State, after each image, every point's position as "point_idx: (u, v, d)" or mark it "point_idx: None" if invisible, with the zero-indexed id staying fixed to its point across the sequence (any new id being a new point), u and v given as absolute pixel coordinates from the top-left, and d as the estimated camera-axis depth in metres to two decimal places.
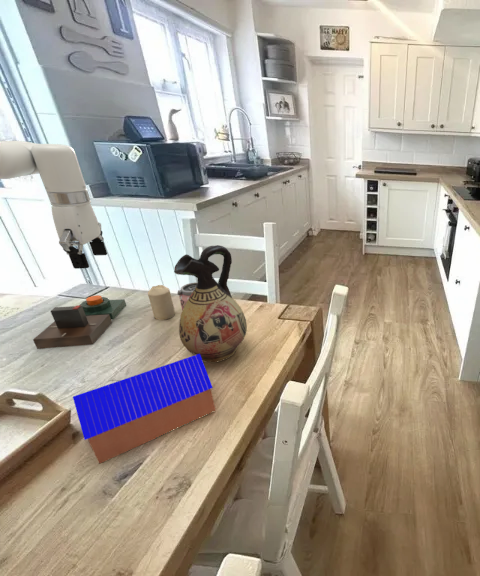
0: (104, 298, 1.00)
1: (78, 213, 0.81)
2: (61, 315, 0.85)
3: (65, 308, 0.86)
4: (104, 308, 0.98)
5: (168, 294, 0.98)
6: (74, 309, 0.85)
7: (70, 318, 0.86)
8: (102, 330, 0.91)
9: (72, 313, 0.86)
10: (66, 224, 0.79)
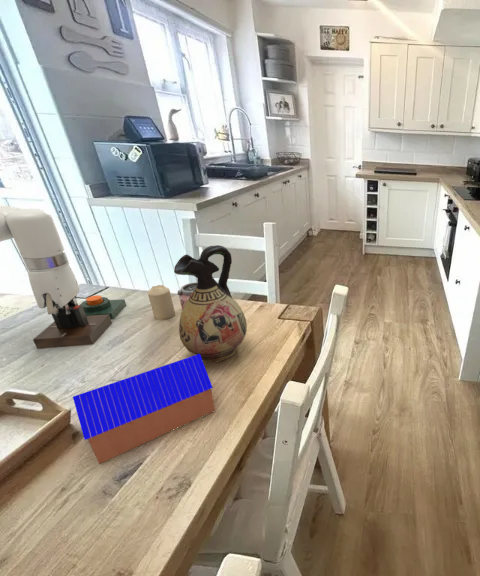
0: (104, 298, 1.00)
1: (56, 276, 0.79)
2: None
3: None
4: (104, 308, 0.98)
5: (168, 294, 0.98)
6: (75, 309, 0.86)
7: None
8: (102, 330, 0.91)
9: None
10: (44, 289, 0.78)
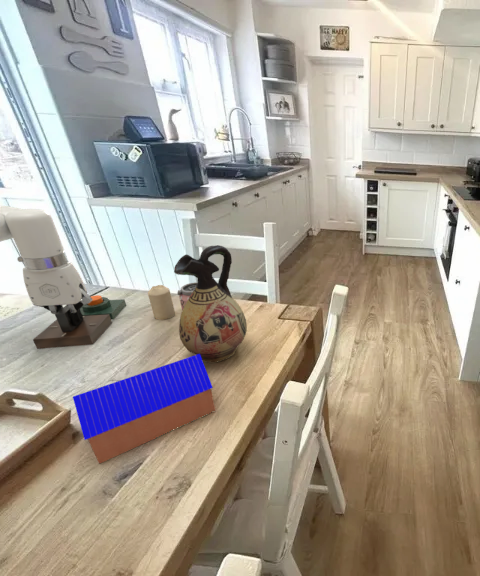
0: (104, 298, 1.00)
1: None
2: None
3: (65, 308, 0.85)
4: (104, 308, 0.98)
5: (168, 294, 0.98)
6: None
7: None
8: (102, 330, 0.91)
9: None
10: (78, 279, 0.83)
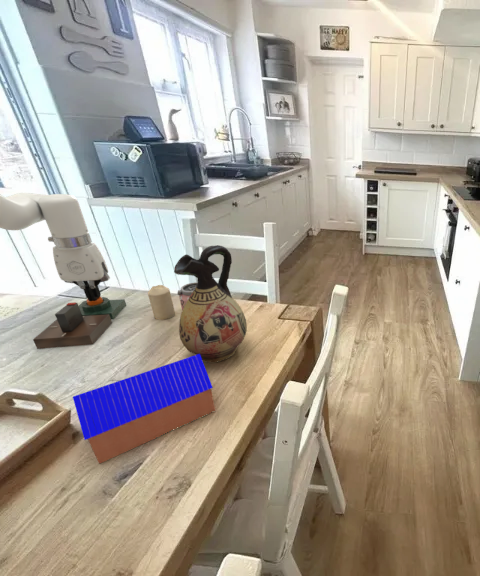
0: (104, 298, 1.00)
1: None
2: (70, 314, 0.86)
3: (65, 308, 0.85)
4: (104, 308, 0.98)
5: (168, 294, 0.98)
6: (75, 304, 0.88)
7: (75, 315, 0.88)
8: (102, 330, 0.91)
9: (75, 309, 0.88)
10: (101, 258, 0.93)
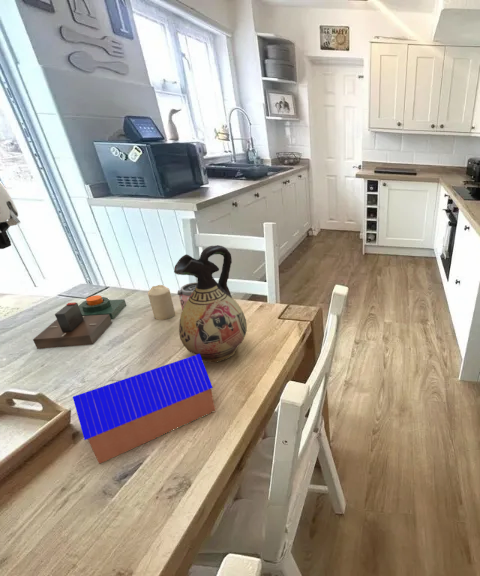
0: (104, 298, 1.00)
1: None
2: (70, 314, 0.86)
3: (65, 308, 0.85)
4: (104, 308, 0.98)
5: (168, 294, 0.98)
6: (75, 304, 0.88)
7: (75, 315, 0.88)
8: (102, 330, 0.91)
9: (75, 309, 0.88)
10: (6, 196, 0.79)
